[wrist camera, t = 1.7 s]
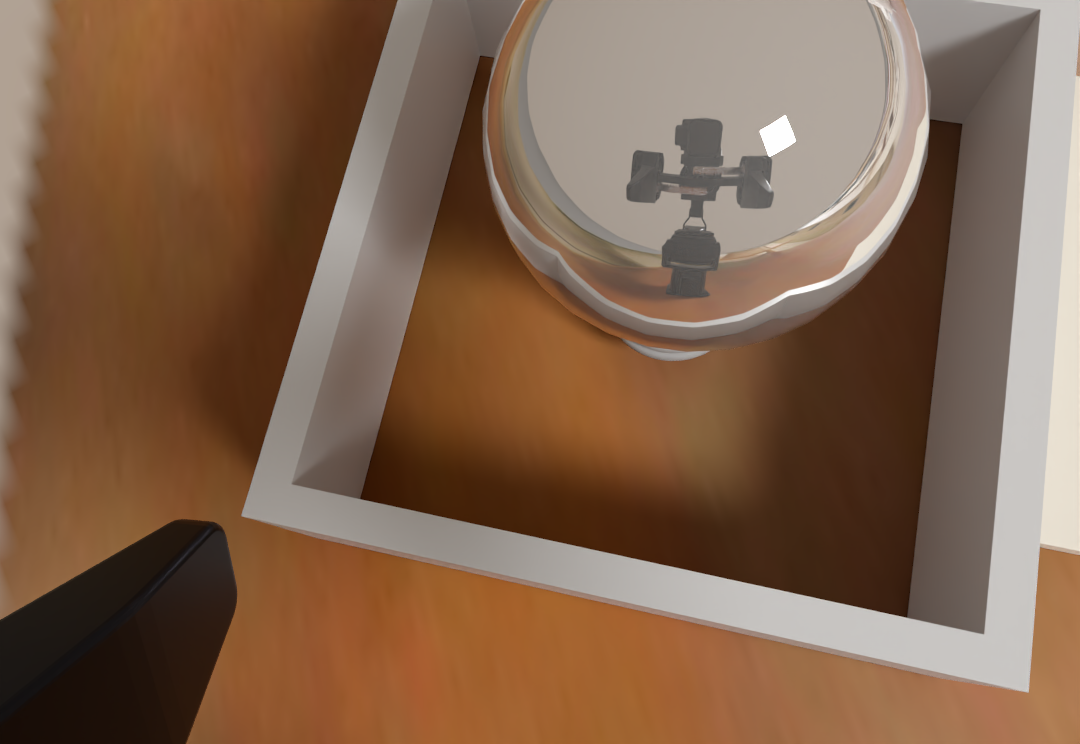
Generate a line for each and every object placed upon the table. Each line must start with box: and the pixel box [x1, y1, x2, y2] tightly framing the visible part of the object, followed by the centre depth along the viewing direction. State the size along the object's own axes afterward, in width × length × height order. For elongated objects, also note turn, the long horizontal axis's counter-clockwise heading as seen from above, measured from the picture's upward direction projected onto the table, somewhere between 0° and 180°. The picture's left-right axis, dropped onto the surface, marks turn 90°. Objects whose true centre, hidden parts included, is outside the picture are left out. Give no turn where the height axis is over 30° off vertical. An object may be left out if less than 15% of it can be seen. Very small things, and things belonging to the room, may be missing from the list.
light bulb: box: [482, 0, 931, 361], centre depth 17 cm, size 7×7×12 cm
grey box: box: [241, 0, 1080, 693], centre depth 20 cm, size 15×15×4 cm
